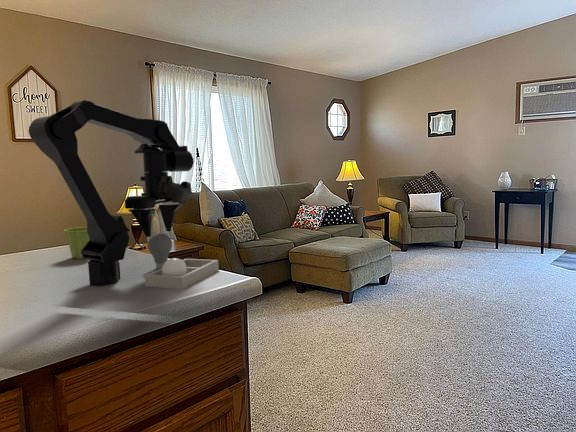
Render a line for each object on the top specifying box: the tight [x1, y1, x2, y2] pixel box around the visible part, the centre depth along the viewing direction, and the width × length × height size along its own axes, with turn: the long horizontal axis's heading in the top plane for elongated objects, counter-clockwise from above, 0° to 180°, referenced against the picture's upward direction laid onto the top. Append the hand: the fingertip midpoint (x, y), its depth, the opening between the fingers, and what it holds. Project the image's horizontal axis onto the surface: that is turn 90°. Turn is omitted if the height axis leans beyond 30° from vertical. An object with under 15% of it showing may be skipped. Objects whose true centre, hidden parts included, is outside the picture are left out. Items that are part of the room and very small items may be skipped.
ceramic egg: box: [162, 257, 187, 276], centre depth 98 cm, size 5×5×5 cm
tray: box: [144, 258, 220, 290], centre depth 102 cm, size 17×9×3 cm, turn 163°
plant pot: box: [63, 226, 90, 260], centre depth 134 cm, size 9×9×9 cm
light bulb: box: [147, 232, 173, 270], centre depth 112 cm, size 6×6×10 cm
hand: (158, 233), depth 111 cm, fingers open, 9 cm apart
